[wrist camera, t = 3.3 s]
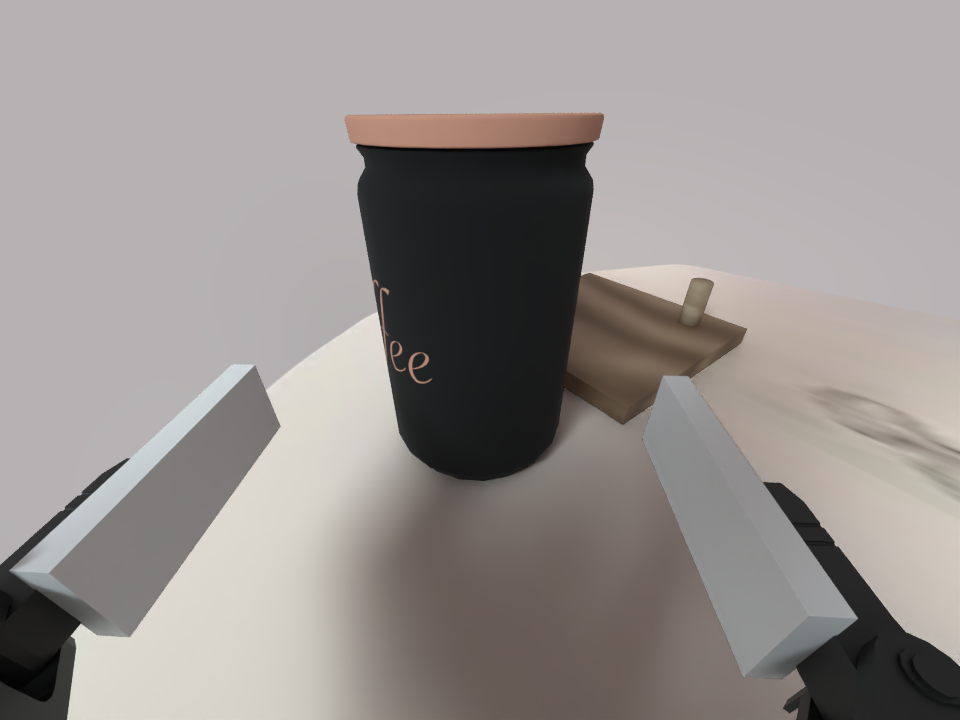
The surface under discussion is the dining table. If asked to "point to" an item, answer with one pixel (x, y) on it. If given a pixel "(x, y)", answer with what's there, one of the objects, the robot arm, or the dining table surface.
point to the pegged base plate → (640, 343)
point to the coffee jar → (476, 275)
